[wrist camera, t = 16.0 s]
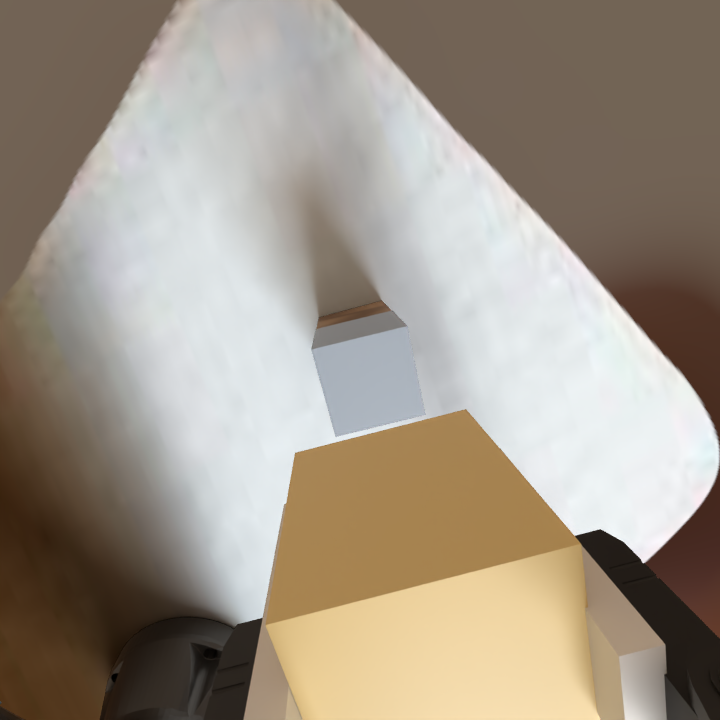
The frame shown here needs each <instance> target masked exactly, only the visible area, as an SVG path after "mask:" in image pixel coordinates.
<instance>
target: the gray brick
mask: <svg viewBox="0 0 720 720" xmlns="http://www.w3.org/2000/svg"><path fill="white" fill-rule="evenodd" d="M311 350H312V353H313V357H314V360H315V364H316V368H317V371H318V375H319V378H320V382H321V386H322V389H323V393H324V396H325V400H326V404H327V407H328V411H329V414H330V418H331V422H332V425H333V429H334V432H335V436H336V437H337V436H341V435H345V434H349V433H353V432H357V431H362V430H366V429H370V428H374V427H378V426H382V425H386V424H390V423H394V422H398V421H402V420H407V419H411V418H415V417H419V416H423V415H426V414H425V409H424V404H423V399H422V394H421V389H420V385H419V380H418V375H417V370H416V365H415V360H414V355H413V351H412V346H411V341H410V336H409V331H408V326H407V325H406V324H405V323H404V322H403V321H402V320H401V319H400V318H399V317H398V316H397V315H396V314H395V313H394V312H393V311H388V312H384V313H380V314H376V315H372V316H367V317H363V318H359V319H355V320H351V321H347V322H343V323H339V324H335V325H331V326H327V327H323V328H318V329H316V331H315V336H314V340H313V345H312V349H311Z"/></svg>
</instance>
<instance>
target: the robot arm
mask: <svg viewBox="0 0 720 720" xmlns="http://www.w3.org/2000/svg"><path fill="white" fill-rule="evenodd" d="M500 450H501V449H500ZM501 451H502V450H501ZM502 452H503V451H502ZM506 457H507V456H506ZM507 458H508V457H507ZM512 464H513V463H512ZM513 465H514V464H513ZM518 471H519V470H518ZM285 509H286V504H284V508H283V514H282V519H281V524H280V529H279V535H278V540H277V545H276V551H275V556H274V561H273V566H272V572H271V577H270V582H269V588H268V593H267V598H266V603H265V609H264V614H263V618H260V619H257V620H253V621H249V622H245V623H241V624H237V626H236V627H235V629H233V628H231V627H229V626H227V625H224V624H222V623H219V622H216V621H212V620H208V619H202V618H174V619H169V620H164V621H161V622H158V623H155V624H152V625H150V626H148V627H146V628H144V629H143V630H141V631H140V632H138V633H137V634H135V635H134V636H133V637H132V638H131V639H130V640H129V641H128V642H127V644H126V645H125V646H124V648H123V649H122V651H121V653H120V655H119V657H118V659H117V661H116V663H115V665H114V666H113V668H112V670H111V673H110V675H109V678H108V681H107V686H106V692H105V697H104V701H103V706H102V711H101V716H100V720H303V719H302V716H301V714H300V711H299V709H298V706H297V704H296V701H295V699H294V696H293V694H292V691H291V689H290V686H289V684H288V681H287V679H286V676H285V674H284V671H283V669H282V666H281V664H280V661H279V659H278V656H277V653H276V651H275V648H274V646H273V643H272V641H271V638H270V636H269V633H268V631H267V628H266V626H265V624H266V618H267V612H268V607H269V601H270V595H271V589H272V584H273V578H274V572H275V566H276V560H277V555H278V549H279V543H280V537H281V532H282V526H283V520H284V514H285ZM575 537H576V538H577V540H578V541H579V542H580V543H581V547H582V556H583V565H584V574H585V583H586V593H587V602H588V607H587V608H585V613H586V621H587V629H588V638H589V646H590V654H591V663H592V671H593V679H594V688H595V696H596V704H597V712H598V715H599V717H600V718H601V720H720V638H718V637H717V636H716V635H715V634H714V633H713V632H712V631H711V630H710V629H709V628H708V627H707V626H706V625H705V624H704V622H703V621H702V620H700V618H699V617H697V616H696V614H695V613H694V612H693V611H692V610H690V609H689V607H688V606H687V605H686V604H685V603H684V602H683V601H681V599H680V598H679V597H678V596H676V594H675V593H674V592H673V591H672V590H670V588H669V587H668V586H667V585H666V584H665V583H664V582H663V581H662V580H661V579H658V578H657V577H656V574H655V573H654V572H653V571H651V569H650V568H649V567H648V566H647V565H646V564H645V563H642V561H641V559H640V558H639V557H638V556H637V555H636V554H635V553H634V552H633V551H632V550H631V549H630V548H629V547H628V546H627V545H626V544H625V543H624V542H622V541H621V540H619V539H617V538H615V537H613V536H612V535H610V534H608V533H606V532H604V531H603V530H601V529H600V530H596V531H592V532H588V533H584V534H580V535H577V536H575ZM0 704H1V702H0ZM0 720H24V719H23V718H21V717H19V716H17V715H15V714H14V713H12V712H10V711H8V710H6V709H5V708H3V707H1V706H0Z"/></svg>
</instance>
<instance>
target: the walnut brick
mask: <svg viewBox="0 0 720 720" xmlns="http://www.w3.org/2000/svg"><path fill="white" fill-rule="evenodd" d="M388 311H391V310H390V309H389V308H388V306H387V305H386V304H385V303H384V302H383V301H379V302H375V303H371V304H368V305H364V306H360V307H356V308H353V309H349V310H345V311H341V312H337V313H334V314H330V315H326V316H322V317H319V319H318V324H317V329H318V328H323V327H327V326H331V325H335V324H339V323H343V322H347V321H351V320H355V319H359V318H363V317H367V316H372V315H376V314H380V313H384V312H388Z"/></svg>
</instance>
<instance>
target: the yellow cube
mask: <svg viewBox="0 0 720 720" xmlns="http://www.w3.org/2000/svg"><path fill="white" fill-rule="evenodd" d="M587 607H588V602H587V593H586V583H585V574H584V565H583V556H582V547H581V543H580V542H579V541H578V540H577V538H576V537H575V536H574V535H573V534H572V533H571V531H570V530H569V529H568V528H567V527H566V526H565V524H564V523H563V522H562V521H561V520H560V519H559V517H558V516H557V515H556V514H555V513H554V512H553V510H552V509H551V508H550V507H549V506H548V504H547V503H546V502H545V501H544V500H543V499H542V497H541V496H540V495H539V494H538V493H537V492H536V490H535V489H534V488H533V487H532V486H531V485H530V483H529V482H528V481H527V480H526V479H525V478H524V476H523V475H522V474H521V473H520V472H519V471H518V469H517V468H516V467H515V466H514V465H513V464H512V462H511V461H510V460H509V459H508V458H507V457H506V455H505V454H504V453H503V452H502V451H501V450H500V448H499V447H498V446H497V445H496V444H495V443H494V441H493V440H492V439H491V438H490V437H489V436H488V434H487V433H486V432H485V431H484V430H483V429H482V427H481V426H480V425H479V424H478V423H477V422H476V420H475V419H474V418H473V417H472V416H471V415H470V413H469V412H468V411H467V410H466V409H465V410H461V411H457V412H453V413H450V414H446V415H442V416H438V417H434V418H430V419H426V420H422V421H418V422H414V423H410V424H407V425H403V426H399V427H395V428H391V429H387V430H383V431H379V432H375V433H371V434H367V435H363V436H360V437H356V438H352V439H348V440H344V441H340V442H336V443H332V444H328V445H324V446H320V447H316V448H313V449H309V450H305V451H301V452H297V453H295V457H294V462H293V468H292V474H291V480H290V485H289V491H288V497H287V503H286V509H285V514H284V520H283V526H282V532H281V537H280V543H279V549H278V555H277V560H276V566H275V572H274V578H273V584H272V589H271V595H270V601H269V607H268V612H267V618H266V624H265V626H266V628H267V631H268V633H269V636H270V638H271V641H272V643H273V646H274V648H275V651H276V653H277V656H278V659H279V661H280V664H281V666H282V669H283V671H284V674H285V676H286V679H287V681H288V684H289V686H290V689H291V691H292V694H293V696H294V699H295V701H296V704H297V706H298V709H299V711H300V714H301V716H302V719H303V720H600V717H599V715H598V712H597V704H596V696H595V688H594V679H593V671H592V663H591V654H590V646H589V638H588V629H587V621H586V613H585V608H587Z"/></svg>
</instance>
